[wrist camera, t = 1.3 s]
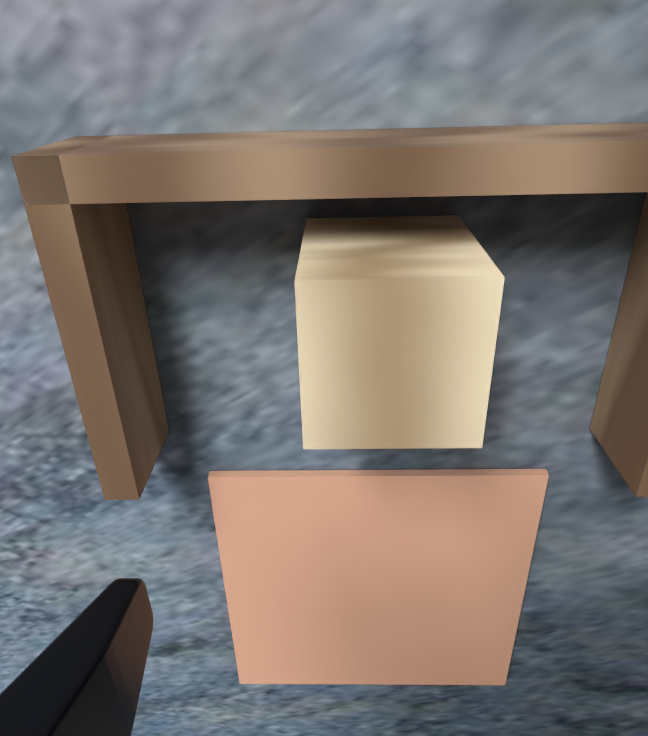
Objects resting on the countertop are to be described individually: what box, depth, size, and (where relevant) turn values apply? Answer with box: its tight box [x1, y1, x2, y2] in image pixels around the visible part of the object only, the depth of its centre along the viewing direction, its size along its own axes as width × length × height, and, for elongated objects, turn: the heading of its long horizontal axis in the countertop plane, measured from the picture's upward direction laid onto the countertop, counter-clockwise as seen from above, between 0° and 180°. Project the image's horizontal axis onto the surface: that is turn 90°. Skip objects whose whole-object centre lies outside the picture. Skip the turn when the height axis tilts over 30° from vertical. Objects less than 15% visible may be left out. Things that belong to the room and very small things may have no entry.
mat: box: [208, 469, 549, 685], centre depth 27 cm, size 14×14×1 cm
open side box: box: [11, 123, 648, 500], centre depth 18 cm, size 19×11×4 cm, turn 91°
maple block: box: [295, 216, 505, 449], centre depth 17 cm, size 5×5×6 cm
